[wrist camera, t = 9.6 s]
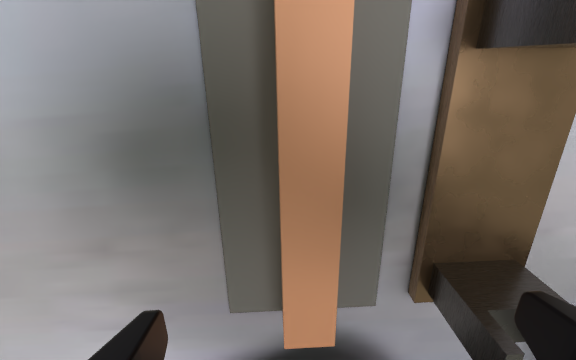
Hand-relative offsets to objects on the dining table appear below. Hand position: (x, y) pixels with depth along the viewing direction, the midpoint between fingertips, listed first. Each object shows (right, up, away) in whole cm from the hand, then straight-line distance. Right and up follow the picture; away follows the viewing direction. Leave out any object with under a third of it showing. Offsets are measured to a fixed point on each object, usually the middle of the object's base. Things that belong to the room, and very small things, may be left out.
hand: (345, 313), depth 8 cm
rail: (0, +4, +10) cm, 10 cm away
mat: (-1, +4, +10) cm, 11 cm away
